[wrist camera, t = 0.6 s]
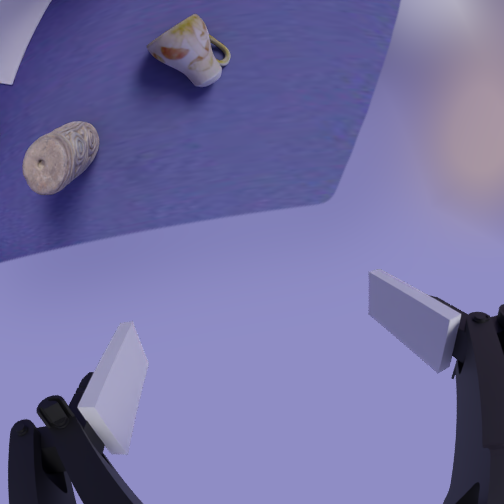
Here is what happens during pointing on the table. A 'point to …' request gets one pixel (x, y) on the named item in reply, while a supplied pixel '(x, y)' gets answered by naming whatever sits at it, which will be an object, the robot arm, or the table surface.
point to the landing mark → (17, 33)
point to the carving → (60, 157)
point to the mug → (190, 51)
